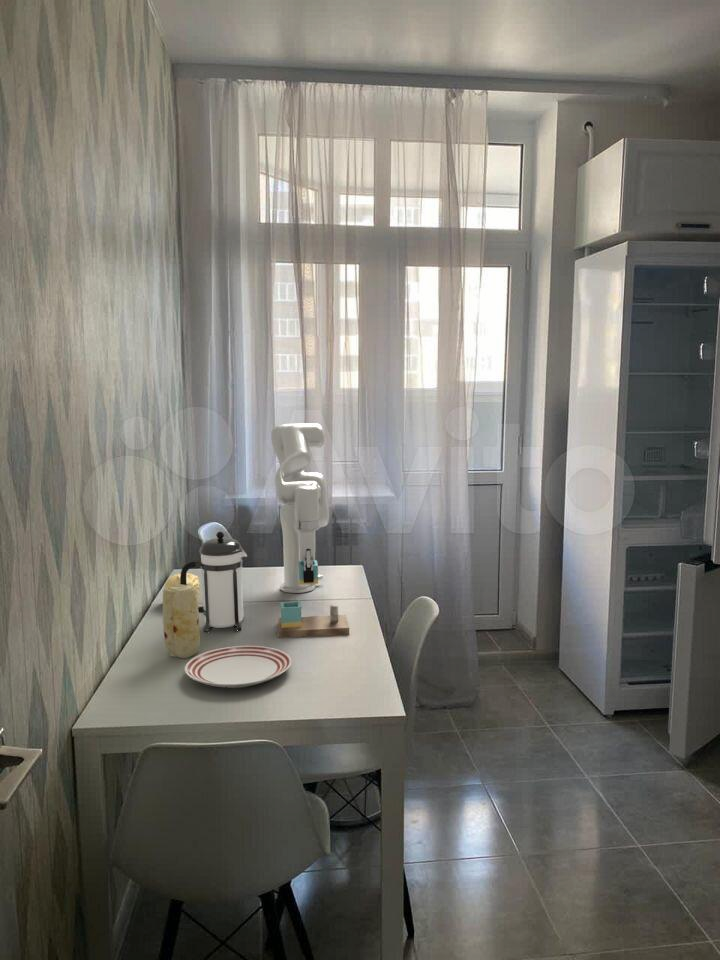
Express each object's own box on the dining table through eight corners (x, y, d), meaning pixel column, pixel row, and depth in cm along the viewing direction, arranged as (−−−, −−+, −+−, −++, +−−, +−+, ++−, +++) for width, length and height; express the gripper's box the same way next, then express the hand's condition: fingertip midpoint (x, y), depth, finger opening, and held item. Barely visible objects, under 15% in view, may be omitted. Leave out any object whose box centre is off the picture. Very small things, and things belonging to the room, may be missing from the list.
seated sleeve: (301, 620, 229) (300, 601, 228) (301, 626, 223) (301, 607, 223) (281, 621, 229) (280, 602, 228) (281, 627, 223) (280, 608, 222)
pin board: (345, 620, 234) (345, 599, 233) (349, 634, 222) (348, 611, 221) (278, 624, 232) (277, 602, 231) (278, 637, 220) (277, 614, 219)
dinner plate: (199, 654, 209) (199, 643, 208) (297, 654, 208) (297, 642, 207) (172, 697, 182) (171, 684, 181) (284, 697, 181) (284, 684, 180)
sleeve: (317, 577, 243) (316, 560, 242) (318, 583, 237) (317, 565, 236) (298, 578, 242) (298, 560, 241) (299, 584, 236) (298, 566, 235)
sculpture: (196, 608, 249) (194, 577, 247) (160, 609, 249) (158, 577, 247) (204, 598, 260) (202, 568, 258) (169, 598, 260) (168, 568, 259)
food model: (201, 649, 212) (197, 581, 209) (200, 658, 205) (197, 587, 202) (165, 652, 210) (161, 583, 207) (163, 661, 204) (159, 590, 201)
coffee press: (228, 614, 242) (224, 523, 237) (258, 626, 230) (254, 531, 226) (181, 628, 230) (176, 532, 225) (210, 641, 218) (205, 540, 214)
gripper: (294, 518, 244) (295, 571, 247) (295, 531, 227) (297, 588, 230) (317, 517, 245) (318, 570, 248) (320, 530, 228) (321, 587, 231)
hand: (308, 578), depth 239 cm, fingers closed on sleeve, 6 cm apart
